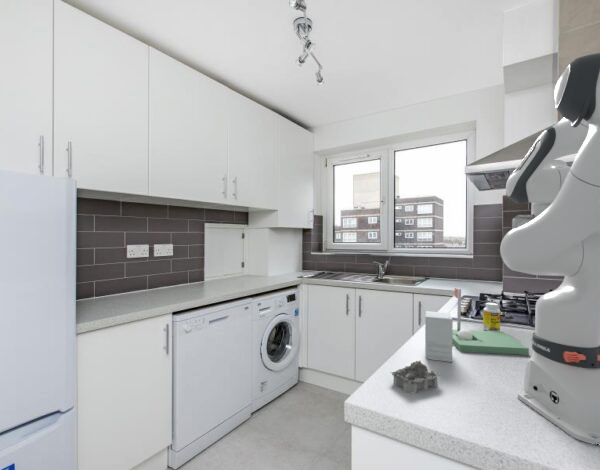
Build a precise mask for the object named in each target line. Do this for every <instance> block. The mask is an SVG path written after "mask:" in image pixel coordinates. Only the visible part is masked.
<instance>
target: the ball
mask: <svg viewBox="0 0 600 470" xmlns="http://www.w3.org/2000/svg"><path fill="white" fill-rule="evenodd" d="M468 330H469V329H465V328H464V329H460V331H459V332H458V338H459V339H463V340H472V338H473V337H472V334H471V332H470V331H468Z"/></svg>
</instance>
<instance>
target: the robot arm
mask: <svg viewBox="0 0 600 470" xmlns="http://www.w3.org/2000/svg"><path fill="white" fill-rule="evenodd" d="M554 88H555V89H554V94H553V95H554V103H555V107H554V108H555V109H556V110H557V113H559V114H560V116H561V117H562V118H561V119H560V120H559V121H558V122H556V124H554V125H552V126H551V127H549V128H546V130H545V129H544V131H543V132H541V134H540V135H539V136H538V137H537V139H536V140H535V142H534V143H533V145H532V146H531V147H530V148H529V150H528V152H527V153H526V154H525V156H524V158H523V159H522V160H521V162H520V163H519V165H518V166H517V167H516V168H515V170H513V172H511V174H509V176H508V178H507V180H506V183H505V195H506V197H507V198H508V199H509V200H510V201H512V202H513V203H514V204H517V205H522V204H529V203H531V205H530V207H531V209H530V211H531V212H530V213H531V214H517V215H516V216H514V217H513V218H512V219H511V226H512V227H511V228H512V229H510V230H509V231H507V232H506V234H505V235H504V237H502V239H501V243H500V248H499V249H500V250H499V252H500V257H501V259H502V261H503V263H504V264H505V265H506V266H507V268H508V269H509V270H511V271H514V272H520V273H523V274H528V275H534V276H552V277H554V276H556V277H564V278H563V280H562V282H561V284H560V285H559V286H558V287H557V288H555V289H554V290H552V291H549V292H547V293H544V294H542V295H541V296H540V297H539V298H538V299H537V300H536V302H535V306H534V307H535V308H534V309H535V316H534V320H535V321H534V332H533V333H532V337H531V348H532V350H533V352H532V355H531V356H530V357H529V359H528V360H527V362H526V365H525V374H524V379H523V389H522V390H520V391H518V393H517V399H518V400H520V401H522V402H523V403H524V404H526V405H527V406H528V407H530V408H531V409H532V410H534V411H535V412H537V413H538V414H540V415H541V416H542V417H544V418H545V419H547V420H548V421H550V422H551V423H552V424H554V425H555V426H557V427H558V428H559V429H561V430H562V431H564V432H566V433H567V434H568V435H570V436H571V437H573V438H575V439H577V440H579V441H581V442H585V443H588V444H592V445H595V444H596V445H597V444H600V52H598V53H597V52H596V53H592V54H588V55H584V56H580V57H577V58H575V59H574V60H573V61H571V62H570V63H569V64H568V65H567V67H566V69H565V70H564V71H563V73H562V74H561V75H560V77H559V78H558V80H557V83H556V85H555V87H554ZM575 154H576V156H575V158H574V160H573V161H572V164H571V166H569V165H568V164H567V162H566V161H565V160H561V159H559V158H564V157H566V156H570V155H575ZM597 446H598V445H597Z"/></svg>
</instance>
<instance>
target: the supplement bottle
mask: <svg viewBox="0 0 600 470" xmlns="http://www.w3.org/2000/svg"><path fill="white" fill-rule="evenodd" d="M482 313H483V315H482V316H483V317H482V318H483V319H482V328H483V329H482V330H483V331H495V332H501V309H499V304H498V303H495V302H486V303H485V307H484V308H483V311H482Z"/></svg>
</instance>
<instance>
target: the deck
mask: <svg viewBox="0 0 600 470" xmlns="http://www.w3.org/2000/svg"><path fill="white" fill-rule="evenodd" d="M454 297H455V298H457V323H456V325H457V326H456V329H453V330H452V346H454V347H455V348H456V350H458V351H459V352H463V353H464V352H466V353H468V352H470V353H485V354H500V355H501V354H504V355H520V356H521V355H522V356H523V355H524V356H529V355H530V353H529V351H530V350H529V349H530V348H529V347H527V346H526V345H524V344H523V343H520V342H519V341H518V340H517V339H514V338H513V337H512V336H510V335H508V334H507V333H505V332H504V331H499V332H495V331H486V330H471V329H467V330H468V331H470V332H471V334H472V337H473V338H472V340H463V339H459V338H458V332H459V331H460V330H461V319H462V317H461V314H462V288H457V287H454Z"/></svg>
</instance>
